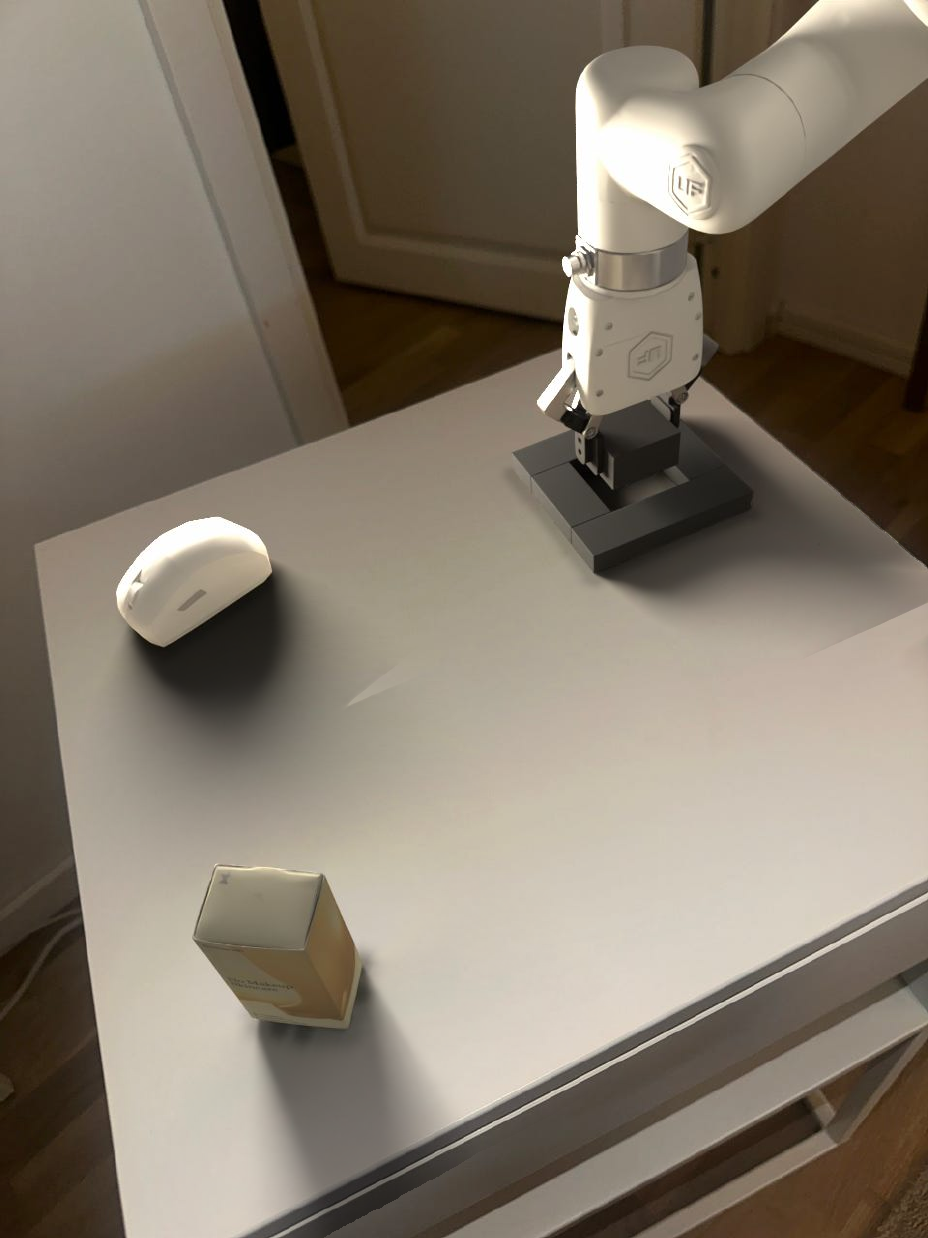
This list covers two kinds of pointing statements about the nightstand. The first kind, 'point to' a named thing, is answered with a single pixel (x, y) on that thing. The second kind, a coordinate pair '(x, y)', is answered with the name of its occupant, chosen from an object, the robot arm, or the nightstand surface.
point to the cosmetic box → (280, 944)
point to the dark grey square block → (637, 444)
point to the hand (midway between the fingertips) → (627, 449)
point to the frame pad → (640, 526)
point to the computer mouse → (190, 578)
